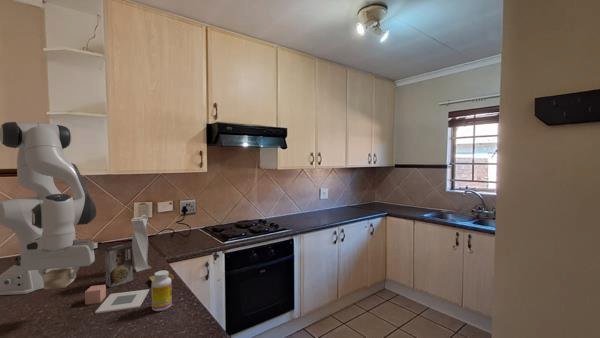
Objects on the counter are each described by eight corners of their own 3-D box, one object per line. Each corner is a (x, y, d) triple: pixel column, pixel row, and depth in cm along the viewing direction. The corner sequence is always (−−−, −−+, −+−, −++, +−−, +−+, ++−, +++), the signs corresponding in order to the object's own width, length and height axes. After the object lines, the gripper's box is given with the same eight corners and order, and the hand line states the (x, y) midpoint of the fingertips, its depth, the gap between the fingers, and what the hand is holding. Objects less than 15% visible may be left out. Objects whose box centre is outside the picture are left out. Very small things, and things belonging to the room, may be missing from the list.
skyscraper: (153, 269, 138) (152, 214, 137) (135, 274, 132) (134, 216, 131) (147, 265, 144) (146, 212, 143) (129, 269, 138) (128, 214, 137)
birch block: (43, 289, 91) (43, 274, 91) (54, 281, 97) (54, 267, 97) (65, 287, 93) (65, 273, 93) (74, 279, 99) (74, 266, 99)
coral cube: (85, 304, 103) (84, 291, 102) (91, 298, 107) (91, 286, 107) (100, 302, 104) (100, 290, 104) (105, 296, 109) (105, 284, 109)
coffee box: (128, 277, 127) (127, 243, 127) (133, 280, 123) (132, 245, 123) (105, 283, 120) (104, 247, 120) (110, 288, 116) (109, 250, 116)
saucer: (169, 276, 129) (169, 271, 129) (174, 282, 123) (174, 277, 123) (148, 281, 123) (148, 276, 123) (153, 287, 117) (153, 283, 117)
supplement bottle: (173, 308, 99) (172, 273, 99) (152, 314, 96) (152, 278, 96) (170, 300, 105) (170, 268, 105) (151, 305, 101) (150, 271, 101)
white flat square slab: (95, 313, 96) (95, 311, 96) (110, 295, 110) (110, 293, 110) (139, 307, 100) (139, 305, 100) (149, 290, 114) (149, 289, 114)
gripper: (97, 236, 101) (98, 273, 101) (29, 240, 95) (30, 279, 95) (89, 241, 95) (90, 280, 95) (16, 245, 89) (17, 287, 89)
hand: (59, 279), depth 95 cm, fingers closed on birch block, 6 cm apart
